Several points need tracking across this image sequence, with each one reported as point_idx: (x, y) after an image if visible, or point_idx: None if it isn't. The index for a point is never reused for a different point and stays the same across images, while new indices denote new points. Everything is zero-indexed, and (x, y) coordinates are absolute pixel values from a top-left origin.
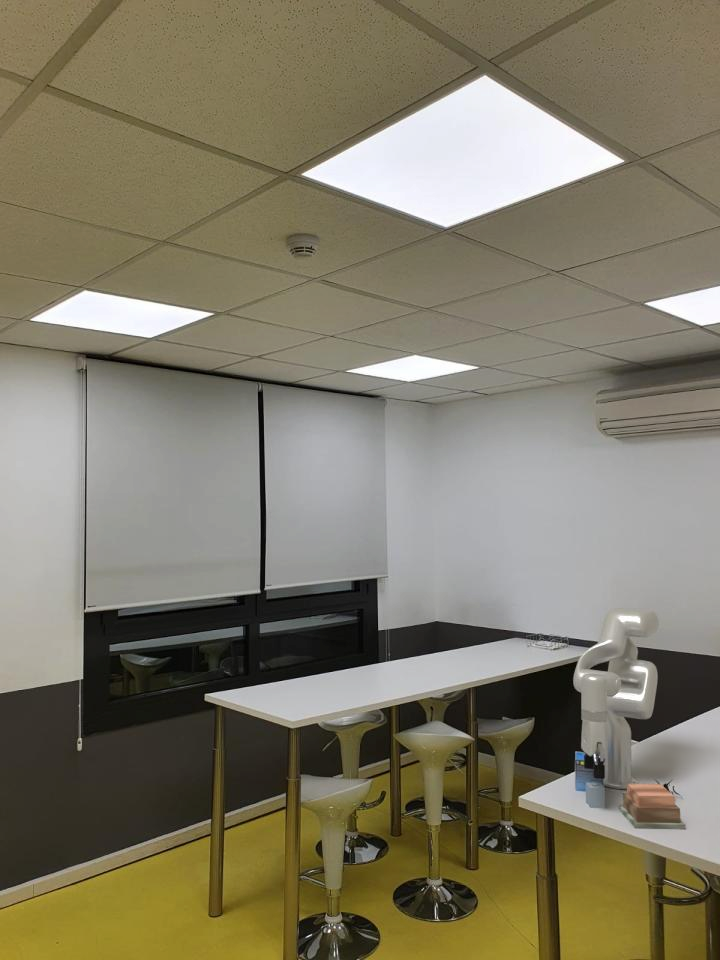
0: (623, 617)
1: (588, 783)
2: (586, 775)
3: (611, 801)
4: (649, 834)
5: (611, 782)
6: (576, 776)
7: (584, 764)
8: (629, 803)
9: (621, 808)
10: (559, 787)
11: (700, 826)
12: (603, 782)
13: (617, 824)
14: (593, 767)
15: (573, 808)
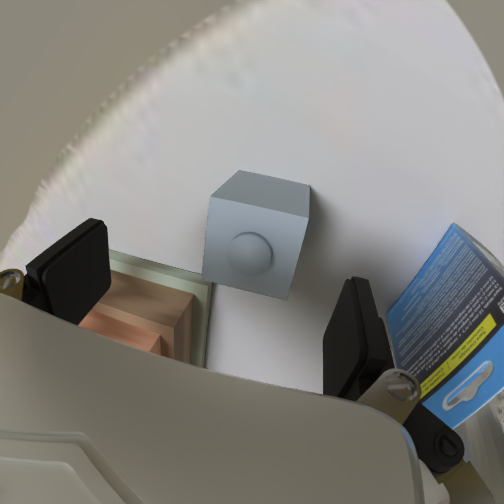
0: None
1: (286, 226)
2: (447, 300)
3: (297, 297)
4: (43, 251)
5: None
6: (476, 253)
7: (361, 293)
8: (108, 294)
9: (173, 276)
10: (498, 172)
11: None
12: (391, 342)
13: (85, 198)
14: (326, 337)
15: (241, 88)
